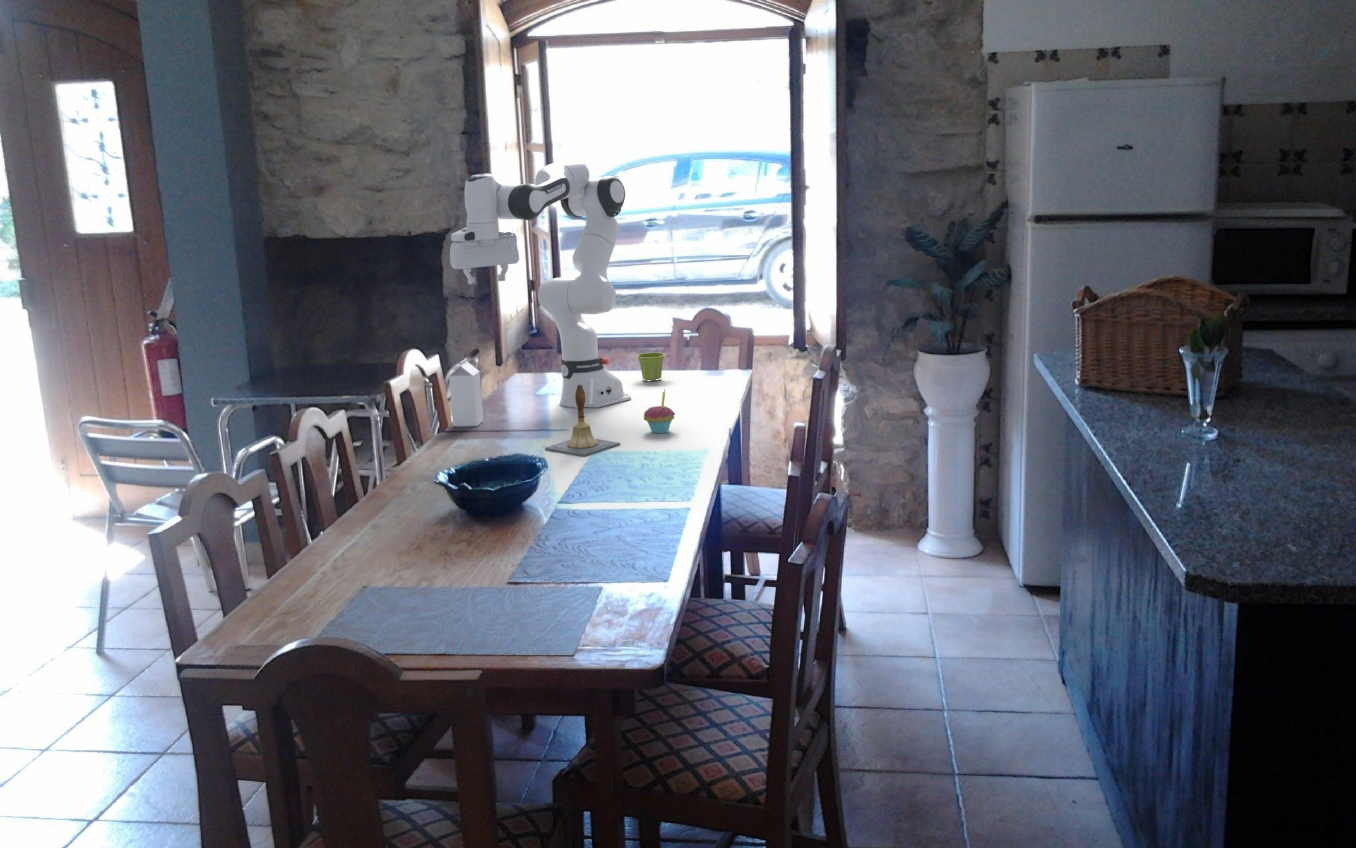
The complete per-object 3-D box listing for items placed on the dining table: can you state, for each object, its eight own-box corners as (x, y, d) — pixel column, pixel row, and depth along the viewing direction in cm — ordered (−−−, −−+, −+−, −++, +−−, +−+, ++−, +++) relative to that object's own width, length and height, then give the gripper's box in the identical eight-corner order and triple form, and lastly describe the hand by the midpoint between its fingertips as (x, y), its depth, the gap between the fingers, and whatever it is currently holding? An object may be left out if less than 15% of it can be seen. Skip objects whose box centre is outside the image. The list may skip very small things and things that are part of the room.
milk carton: (483, 421, 343) (478, 357, 338) (477, 426, 336) (472, 361, 331) (460, 421, 343) (454, 358, 339) (453, 427, 337) (447, 362, 332)
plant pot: (655, 383, 389) (654, 357, 387) (632, 381, 394) (631, 356, 392) (671, 378, 396) (670, 353, 394) (648, 376, 401) (647, 351, 400)
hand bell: (566, 441, 311) (563, 383, 307) (597, 439, 312) (594, 381, 308) (567, 449, 303) (563, 389, 299) (599, 447, 304) (595, 387, 300)
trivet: (581, 438, 317) (581, 436, 317) (620, 444, 308) (619, 442, 308) (545, 449, 306) (544, 447, 306) (584, 456, 298) (583, 454, 297)
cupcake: (679, 428, 324) (677, 386, 321) (669, 435, 316) (667, 392, 313) (650, 427, 327) (648, 385, 324) (639, 434, 319) (637, 391, 316)
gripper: (510, 230, 334) (513, 278, 338) (445, 235, 323) (449, 285, 326) (521, 230, 330) (524, 279, 333) (455, 235, 318) (459, 286, 321)
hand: (486, 282), depth 329 cm, fingers open, 8 cm apart
